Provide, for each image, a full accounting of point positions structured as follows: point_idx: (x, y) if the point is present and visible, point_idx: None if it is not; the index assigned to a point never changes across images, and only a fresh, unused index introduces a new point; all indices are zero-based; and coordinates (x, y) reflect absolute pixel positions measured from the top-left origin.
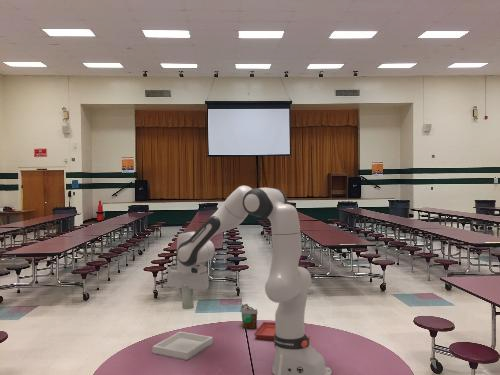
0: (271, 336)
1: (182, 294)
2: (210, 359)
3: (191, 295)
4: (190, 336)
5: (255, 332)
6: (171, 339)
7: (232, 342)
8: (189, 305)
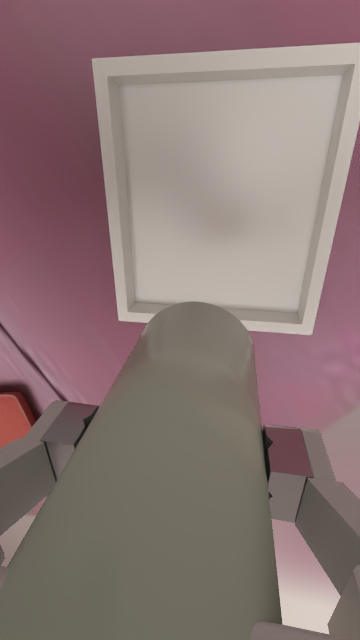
0: None
1: (228, 436)
2: (26, 144)
3: (73, 440)
4: (238, 314)
5: (20, 409)
6: (315, 242)
7: (72, 342)
8: (141, 337)
